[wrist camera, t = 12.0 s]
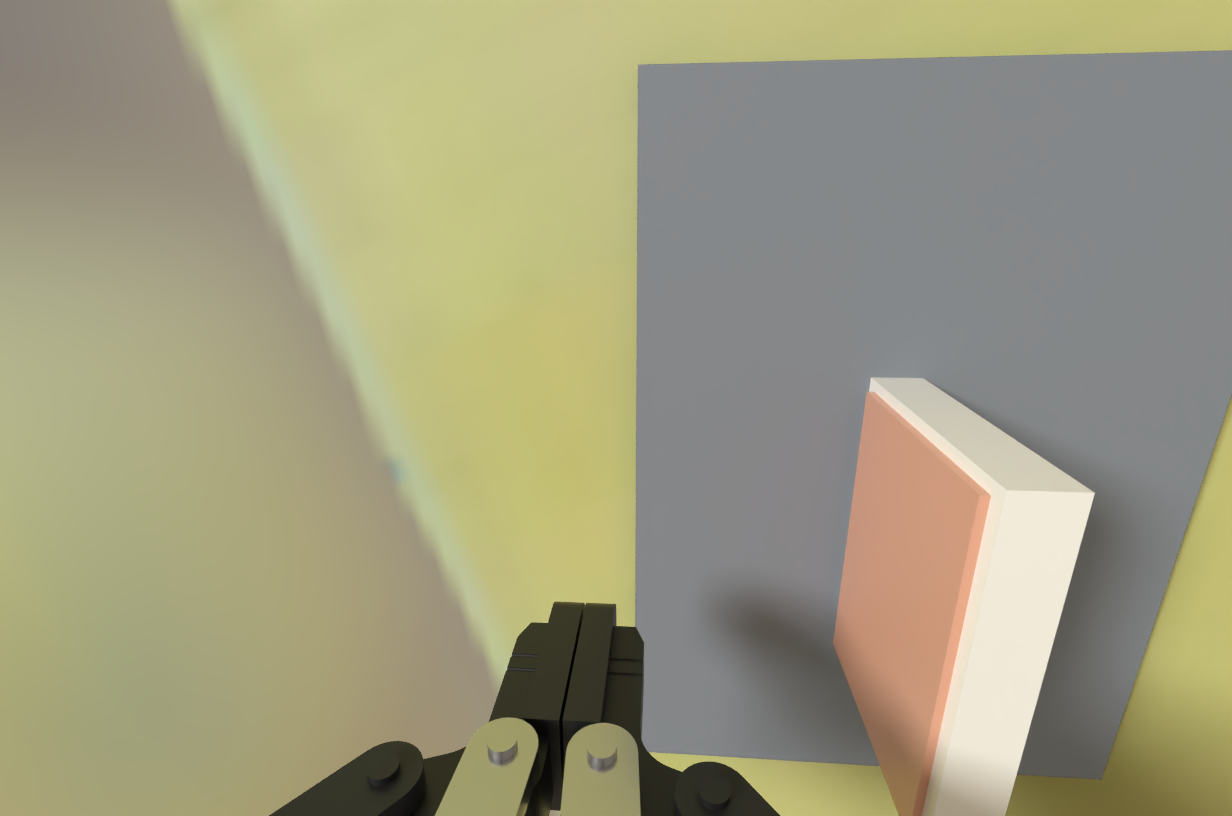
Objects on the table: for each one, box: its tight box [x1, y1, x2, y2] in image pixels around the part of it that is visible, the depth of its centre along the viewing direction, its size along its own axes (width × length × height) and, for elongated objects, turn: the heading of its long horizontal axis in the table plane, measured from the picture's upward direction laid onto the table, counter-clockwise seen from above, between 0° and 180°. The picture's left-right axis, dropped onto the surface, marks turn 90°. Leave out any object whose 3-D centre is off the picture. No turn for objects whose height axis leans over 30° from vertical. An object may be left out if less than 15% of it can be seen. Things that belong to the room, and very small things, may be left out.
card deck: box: [833, 377, 1095, 816], centre depth 15 cm, size 9×2×7 cm, turn 0°
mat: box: [635, 50, 1232, 780], centre depth 18 cm, size 22×16×1 cm
